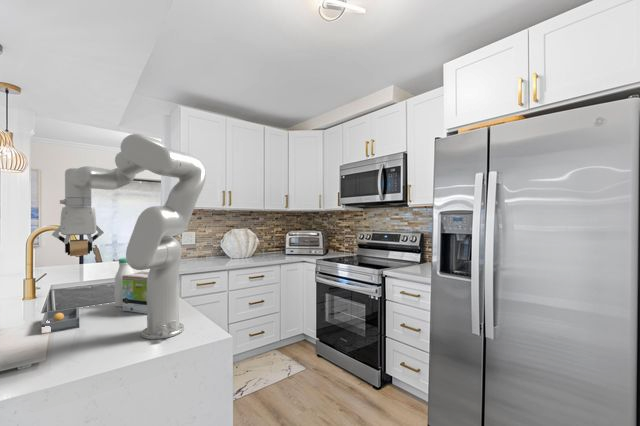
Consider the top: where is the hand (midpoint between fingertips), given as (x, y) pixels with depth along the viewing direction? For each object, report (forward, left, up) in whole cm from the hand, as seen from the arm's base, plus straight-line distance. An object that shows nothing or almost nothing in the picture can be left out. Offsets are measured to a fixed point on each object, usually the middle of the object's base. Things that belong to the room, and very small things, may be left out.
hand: (79, 253), depth 113 cm
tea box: (+4, -22, -26) cm, 34 cm away
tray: (+4, +5, -25) cm, 26 cm away
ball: (+6, +6, -24) cm, 26 cm away
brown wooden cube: (0, 0, 0) cm, 0 cm away
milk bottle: (+18, -16, -26) cm, 35 cm away
